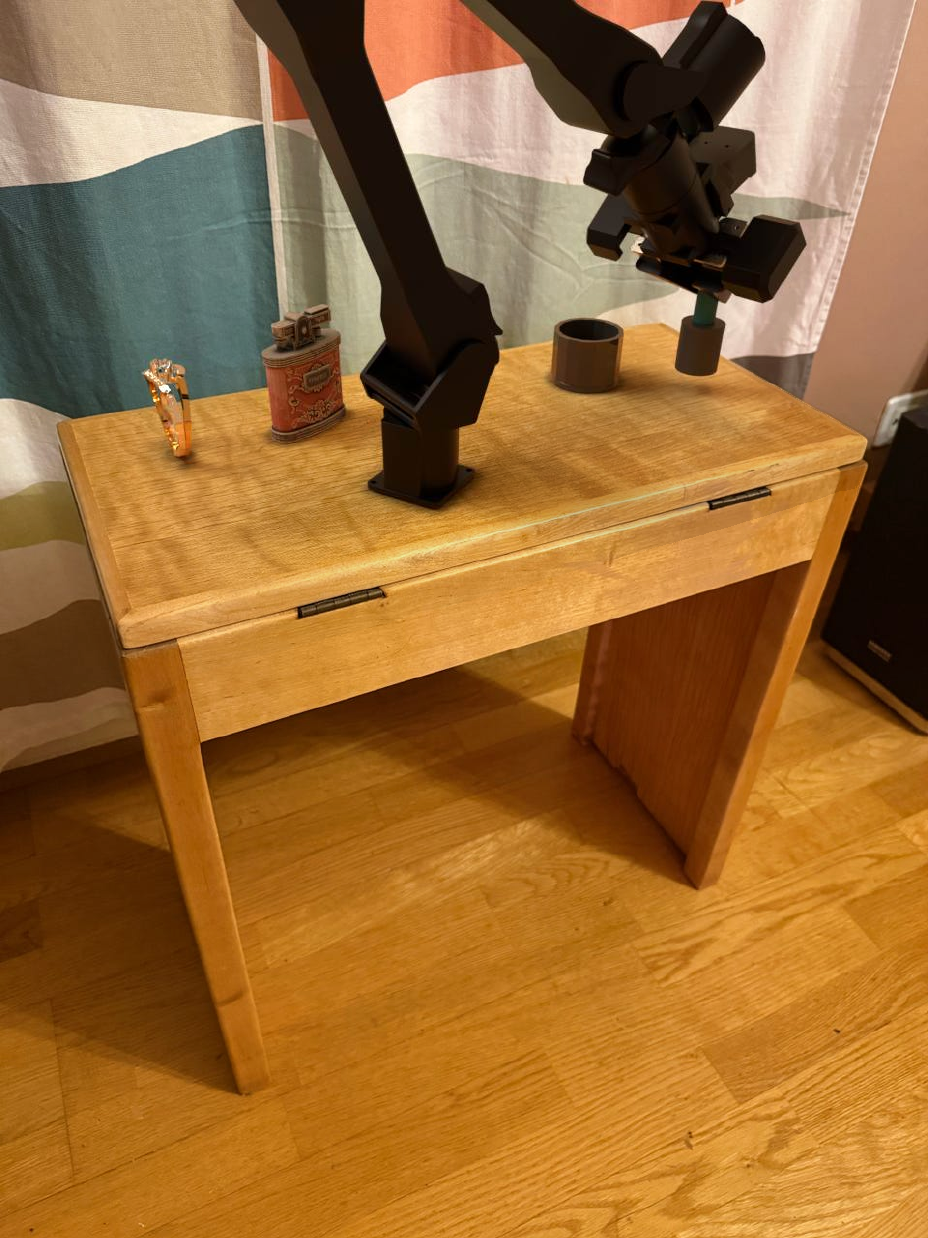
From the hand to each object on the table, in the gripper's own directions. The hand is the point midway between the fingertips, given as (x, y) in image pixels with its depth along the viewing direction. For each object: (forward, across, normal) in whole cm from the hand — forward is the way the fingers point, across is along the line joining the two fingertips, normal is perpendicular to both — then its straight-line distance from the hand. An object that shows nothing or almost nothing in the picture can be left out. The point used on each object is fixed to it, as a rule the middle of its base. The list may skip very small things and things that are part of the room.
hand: (716, 295), depth 84 cm
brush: (+4, 0, +6) cm, 7 cm away
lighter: (-17, +18, +30) cm, 39 cm away
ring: (-25, +21, +38) cm, 50 cm away
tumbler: (+1, +9, +11) cm, 14 cm away
